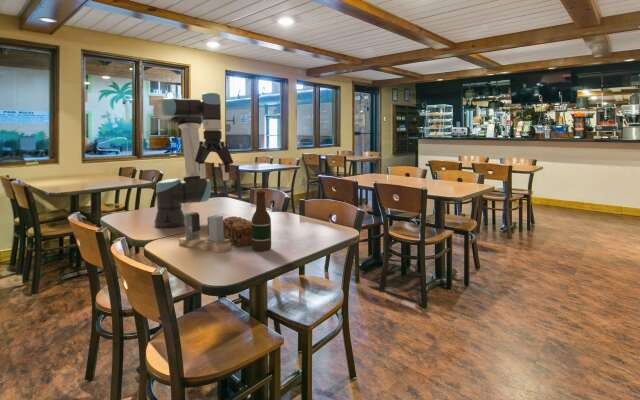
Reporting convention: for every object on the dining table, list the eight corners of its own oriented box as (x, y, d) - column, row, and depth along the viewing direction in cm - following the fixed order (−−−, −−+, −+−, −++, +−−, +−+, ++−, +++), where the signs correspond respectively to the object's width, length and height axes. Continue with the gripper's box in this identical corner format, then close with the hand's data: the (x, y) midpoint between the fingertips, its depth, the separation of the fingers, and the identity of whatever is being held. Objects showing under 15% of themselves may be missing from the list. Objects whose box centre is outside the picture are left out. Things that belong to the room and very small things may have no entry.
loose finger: (223, 242, 164) (222, 216, 162) (216, 244, 160) (215, 217, 159) (215, 240, 166) (214, 214, 164) (208, 243, 163) (207, 216, 161)
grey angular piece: (178, 244, 170) (177, 213, 168) (191, 240, 176) (190, 210, 173) (219, 252, 158) (217, 219, 156) (231, 248, 164) (230, 216, 162)
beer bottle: (261, 245, 169) (260, 189, 165) (275, 248, 164) (274, 190, 160) (248, 249, 162) (246, 191, 158) (262, 253, 158) (261, 193, 154)
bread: (221, 238, 180) (220, 216, 179) (243, 235, 186) (242, 214, 185) (237, 248, 165) (236, 224, 164) (260, 244, 171) (260, 221, 170)
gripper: (185, 130, 175) (187, 178, 178) (228, 130, 163) (229, 181, 166) (198, 130, 181) (200, 176, 185) (240, 130, 169) (241, 180, 172)
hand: (214, 179), depth 175 cm, fingers open, 13 cm apart
